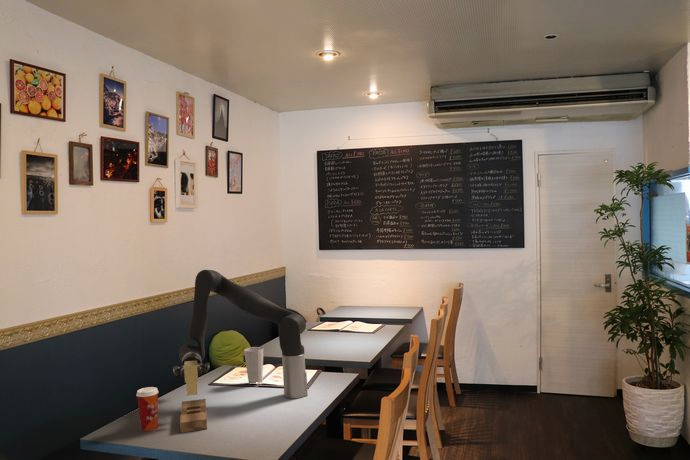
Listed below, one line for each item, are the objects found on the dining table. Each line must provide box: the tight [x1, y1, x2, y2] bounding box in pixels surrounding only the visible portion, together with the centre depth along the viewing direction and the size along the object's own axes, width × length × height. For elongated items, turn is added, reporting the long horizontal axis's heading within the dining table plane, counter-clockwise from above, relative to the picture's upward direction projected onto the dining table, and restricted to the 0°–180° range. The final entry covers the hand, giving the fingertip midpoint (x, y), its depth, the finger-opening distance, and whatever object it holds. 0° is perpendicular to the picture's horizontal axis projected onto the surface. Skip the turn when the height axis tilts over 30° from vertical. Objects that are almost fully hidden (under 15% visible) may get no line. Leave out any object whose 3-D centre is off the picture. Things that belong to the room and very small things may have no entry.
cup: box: [243, 346, 264, 384], centre depth 254 cm, size 8×8×16 cm
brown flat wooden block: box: [179, 398, 208, 433], centre depth 212 cm, size 9×24×4 cm, turn 15°
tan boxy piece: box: [184, 360, 199, 396], centre depth 211 cm, size 5×7×11 cm, turn 14°
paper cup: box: [135, 386, 160, 432], centre depth 205 cm, size 8×8×14 cm
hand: (191, 374), depth 209 cm, fingers closed on tan boxy piece, 4 cm apart
